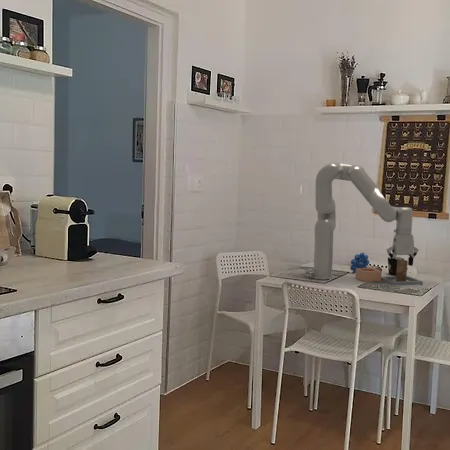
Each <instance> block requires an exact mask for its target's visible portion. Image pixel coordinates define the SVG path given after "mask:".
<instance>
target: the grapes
mask: <svg viewBox="0 0 450 450" xmlns="http://www.w3.org/2000/svg"><path fill="white" fill-rule="evenodd" d="M350 264H351V265H350V266H349V269H350V270H351V271H352V274H356V268H368V267H367V266H369V264H370V260H369V255H368V254H365V252H360V254H358V253H357V254H355V255H354V258H353V259H351V261H350Z"/></svg>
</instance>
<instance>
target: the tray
mask: <svg viewBox="0 0 450 450" xmlns="http://www.w3.org/2000/svg"><path fill="white" fill-rule="evenodd" d="M394 280H395V281H394ZM381 282H385V283H387V284H389V285H392V286H414V285H415V286H417V285H420V286H423V285H424V284H423V283H424V281H423V280H420V279H417V278H416V277H412V276H409V275H407V277H406V281H399V282H396V276H393V275H390V276H389V275H388V276H387V275H386V276H381Z"/></svg>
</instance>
